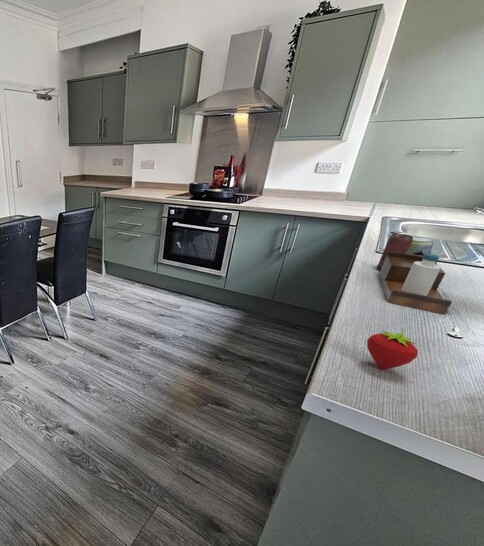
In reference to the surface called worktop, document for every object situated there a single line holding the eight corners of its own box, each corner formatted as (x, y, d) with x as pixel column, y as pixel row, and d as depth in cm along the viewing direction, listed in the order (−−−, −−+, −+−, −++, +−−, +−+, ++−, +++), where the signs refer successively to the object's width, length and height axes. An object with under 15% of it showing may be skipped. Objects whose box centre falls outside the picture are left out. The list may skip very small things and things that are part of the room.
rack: (425, 284, 106) (437, 258, 103) (445, 314, 87) (461, 284, 84) (378, 275, 113) (388, 250, 109) (387, 302, 94) (400, 273, 90)
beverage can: (429, 273, 115) (444, 242, 111) (404, 270, 118) (417, 240, 113) (419, 267, 121) (433, 237, 116) (395, 264, 123) (408, 235, 119)
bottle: (425, 291, 95) (443, 254, 91) (429, 297, 91) (448, 259, 87) (400, 286, 99) (416, 250, 94) (402, 292, 94) (420, 255, 90)
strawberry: (359, 354, 71) (376, 316, 67) (405, 369, 66) (426, 330, 62) (357, 366, 67) (374, 327, 63) (406, 384, 62) (428, 342, 58)
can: (384, 267, 121) (399, 232, 115) (402, 273, 115) (419, 237, 109) (371, 268, 120) (385, 233, 114) (389, 274, 114) (405, 238, 108)
